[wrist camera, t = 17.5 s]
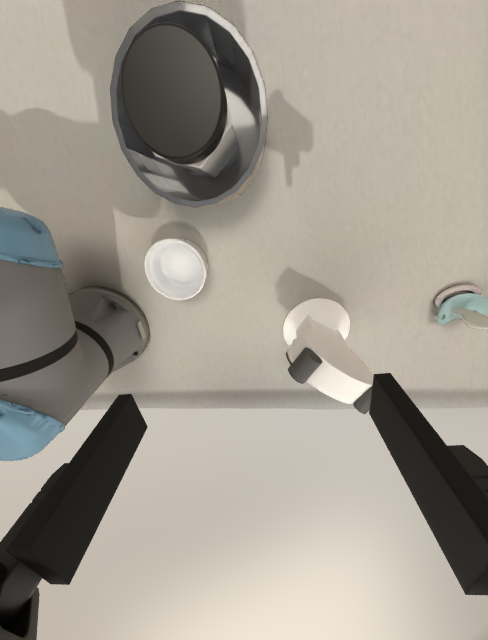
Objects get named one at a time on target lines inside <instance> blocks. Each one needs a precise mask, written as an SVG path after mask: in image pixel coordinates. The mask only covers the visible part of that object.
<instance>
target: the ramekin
mask: <svg viewBox="0 0 488 640" xmlns="http://www.w3.org/2000/svg"><path fill="white" fill-rule="evenodd" d="M144 269H145V273H146V276H147V279H148V281H149V282H150V284H151V285H152V287H153V288H154V289H155V290H156V291H157V292H158V293H160V294H161V295H163V296H164V297H167V298H169V299H173V300H186V299H190V298H192V297H194V296H195V295H196V294H198V293H199V292H200V290H201V289H202V287H203V286H204V283H205V280H206V276H207V271H208V263H207V259H206V256H205V255H204V253H203V251H202V250H201V249H200V248H199V247H198V246H197V245H196V244H194V243H193V242H191V241H188V240H186V239H174V238H168V239H163V240H160V241H158V242H156V243H155V244H153V245H152V246H151V247H150V248H149V250H148V251H147V253H146V256H145V261H144Z"/></svg>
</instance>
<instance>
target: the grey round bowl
mask: <svg viewBox="0 0 488 640" xmlns="http://www.w3.org/2000/svg"><path fill="white" fill-rule="evenodd" d="M163 22H169V23H175V24H179V25H181V26H184V27H186V28H187V29H189V30H191V31H192V32H193V33H195V34H196V35H197V36H198V37H199V38H200V39H201V40H202V41H203V42H204V43H205V45H206V46H207V47H208V49H209V50H210V52H211V54H212V55H213V57H214V58H215V59H216V62H217V66H218V69H219V72H220V75H221V78H222V82H223V85H224V89H225V93H226V96H227V100H228V103H229V107H230V111H231V115H232V119H233V123H234V127H235V131H236V135H237V139H238V143H239V148H238V150H237V151H236V152H235V154H234V155H233V156H232V158H231V159H230V160H229V162H228V163H227V164H226V166H225V167H224V168H223V170H222V171H221V172H220V174H219V175H218V176H217V177H216V178H214V177H210V176H206V175H203V174H199V173H195V172H192V171H188V170H184V169H182V168H180V167H177V166H175V165H173V164H171V163H169V162H167V161H165V160H162V159H160V158H158V157H156V156H155V155H154V153H153V151H151V150H150V149H149V148H148V147H147V146H146V145H145V144H144V143H143V142H142V141H141V140H140V138H139V137H138V136H137V134H136V133H135V131H134V130H133V128H132V126H131V124H130V122H129V120H128V117H127V114H126V111H125V108H124V104H123V99H122V92H121V73H122V67H123V62H124V59H125V55H126V53H127V51H128V48H129V47H130V45H131V43H132V42H133V40H134V39H135V38H136V36H137V35H138V34H139V33H140V32H141V31H143V30H144V29H146V28H147V27H149V26H151V25H154V24H157V23H163ZM110 95H111V108H112V120H113V124H114V127H115V130H116V133H117V136H118V140H119V143H120V146H121V149H122V151H123V153H124V155H125V156H126V158H127V160H128V161H129V163H130V165H131V166H132V168H133V170H134V171H135V173H136V174H137V176H138V177H139V178H140V179H141V180H142V181H143V182H144V183H145V184H146V185H147V186H148V187H149V188H150V189H151V190H152V191H153V192H155V193H156V194H158V195H160V196H162V197H164V198H165V199H167V200H169V201H171V202H173V203H175V204H179V205H185V206H190V207H210V206H216V205H222V204H225V203H227V202H229V201H231V200H233V199H234V198H236V197H237V196H239V195H241V193H242V192H243V191H244V190H245V189H246V188H247V187H248V186H249V184H250V183H251V182H252V181H253V179H254V177H255V175H256V173H257V171H258V168H259V166H260V164H261V161H262V157H263V151H264V145H265V138H266V130H267V121H268V115H267V104H266V92H265V84H264V81H263V79H262V76H261V73H260V70H259V67H258V64H257V61H256V58H255V56H254V53H253V51H252V50H251V48H250V47H249V45H248V44H247V43H246V41H245V40H244V38H243V37H242V36H241V34H240V33H239V31H238V30H237V28H236V27H235V26H234V25H233V24H232V23H231V22H229V21H228V20H226V19H225V18H224V17H222V16H221V15H219V14H218V13H217V12H215V11H214V10H212V9H211V8H210V7H207V6H204V5H199V4H194V3H189V2H184V1H176V2H172V3H169V4H165V5H162V6H158V7H155V8H152V9H150V10H149V11H148V12H147V13H146V14H145V15H144V16H143V17H142V18H140V19H139V20H138V21H137V22H136V23H135V24H134V25H133V26H132V27H131V28H130V29H129V31H128V33H127V35H126V37H125V39H124V41H123V43H122V44H121V46H120V48H119V50H118V52H117V54H116V57H115V63H114V68H113V74H112V80H111V86H110Z"/></svg>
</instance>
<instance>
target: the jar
mask: <svg viewBox="0 0 488 640" xmlns="http://www.w3.org/2000/svg"><path fill="white" fill-rule="evenodd" d="M121 92H122V99H123V104H124V108H125V111H126V114H127V117H128V120H129V122H130V124H131V126H132V128H133V130H134V131H135V133H136V134H137V136H138V137H139V138H140V140H141V141H142V142H143V143H144V144H145V145H146V146H147V147H148V148H149V149H150V150H151V151H153V153H154V155H155V156H156V157H158V158H160V159H162V160H165V161H167V162H169V163H171V164H173V165H175V166H177V167H180V168H182V169H184V170H188V171H192V172H195V173H199V174H203V175H206V176H210V177H214V178H216V177H217V176H218V175H219V174H220V172H221V171H222V170H223V168H224V167H225V166H226V164H227V163H228V162H229V160H230V159H231V158H232V156H233V155H234V154H235V152H236V151H237V150H238V148H239V143H238V139H237V135H236V131H235V127H234V123H233V119H232V115H231V111H230V107H229V103H228V100H227V96H226V93H225V89H224V85H223V82H222V78H221V75H220V72H219V69H218V66H217V62H216V59H215V58H214V57H213V55H212V54H211V52H210V50H209V49H208V47H207V46H206V45H205V43H204V42H203V41H202V40H201V39H200V38H199V37H198V36H197V35H196V34H195V33H193V32H192V31H191V30H189V29H187V28H186V27H184V26H181V25H179V24H175V23H169V22H163V23H157V24H154V25H151V26H149V27H147V28H146V29H144V30H143V31H141V32H140V33H139V34H138V35H137V36H136V38H135V39H134V40H133V42H132V43H131V45H130V47H129V48H128V51H127V53H126V55H125V59H124V62H123V67H122V73H121Z"/></svg>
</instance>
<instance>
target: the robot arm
mask: <svg viewBox="0 0 488 640" xmlns="http://www.w3.org/2000/svg"><path fill="white" fill-rule="evenodd" d="M61 267H63V263H62V261H61V260H60V259H59V257H58V254H57V251H56V247H55V244H54V241H53V238H52V234H51V232H50V230H49V229H48V227H47V226H46V225H45V224H44V223H43V222H42V221H41V220H39V219H38V218H36V217H34V216H32V215H30V214H27V213H24V212H20V211H16V210H12V209H7V208H3V207H0V460H1V461H15V460H22V459H26V458H28V457H31V456H33V455H35V454H37V453H39V452H40V451H41V450H43V449H44V448H45V447H46V445H48V444H49V442H50V441H51V440H53V439H54V438H55V437H56V435H58V434H59V433H60V432H62V431H63V430H64V429H65V426H66V425H67V424H68V422H69V421H70V420H71V419H72V418H73V416H74V415H75V414H76V413H77V412H78V411H79V409H80V408H81V407H82V406H83V405H84V404H85V402H86V401H87V400H88V399H89V398H90V397H91V395H92V394H93V393H94V392H95V391H96V390H97V388H98V387H99V386H100V385H101V384H102V383H103V381H104V380H105V379H106V378H107V377H108V376H109V374H110V373H112V372H114V371H116V370H117V369H119V368H121V367H123V366H125V365H127V364H129V363H130V362H132V361H134V360H135V359H137V358H138V357H139V356H140V354H141V353H142V352H143V351H144V349H145V348H146V346H147V344H148V341H149V327H148V323H147V321H146V318H145V316H144V315H143V313H142V312H141V310H140V309H139V308H138V307H137V306H136V304H135V303H133V302H132V301H131V300H130V299H129V298H127V297H126V296H124V295H123V294H121V293H119V292H117V291H114V290H112V289H108V288H104V287H87V288H83V289H81V290H79V291H77V292H75V293H72V294H71V295H69V296H68V293H67V289H66V285H65V281H64V277H63V273H62V269H61ZM369 414H370V415H371V418H372V419H373V421H374V423H375V425H376V427H377V429H378V431H379V433H380V434H381V436H382V438H383V440H384V442H385V444H386V446H387V448H388V450H389V451H390V453H391V455H392V457H393V459H394V461H395V463H396V465H397V466H398V468H399V470H400V472H401V474H402V476H403V477H404V479H405V482H406V483H407V485H408V487H409V489H410V491H411V492H412V495H413V497H414V498H415V500H416V502H417V504H418V506H419V508H420V510H421V512H422V514H423V515H424V517H425V519H426V521H427V523H428V525H429V526H430V529H431V530H432V532H433V534H434V536H435V538H436V540H437V542H438V543H439V545H440V547H441V549H442V551H443V553H444V555H445V557H446V559H447V560H448V562H449V564H450V566H451V568H452V570H453V572H454V574H455V576H456V577H457V579H458V581H459V583H460V585H461V587H462V589H463V591H464V592H465V594H466V595H488V466H487V465H486V463H485V462H484V461H483V460H482V459H481V458H480V457H479V456H477V455H476V454H474V453H473V452H472V451H470V450H469V449H468V448H466V447H465V446H464V445H456V446H447V445H446V444H445V443H444V442H443V440H442V439H441V438H440V436H439V435H438V434H437V433H436V431H435V430H434V429H433V427H432V426H431V425H430V424H429V422H428V421H427V420H426V418H425V417H424V416H423V415H422V413H421V412H420V411H419V409H418V408H417V407H416V406H415V404H414V403H413V402H412V401H411V399H410V398H409V397H408V395H407V394H406V393H405V392H404V390H403V389H402V388H401V386H400V385H399V384H398V383H397V381H396V380H395V379H394V378H393V376H392V375H391V374H390V373H385V374H374V377H373V386H372V394H371V402H370V411H369ZM146 429H147V425H146V423H145V421H144V419H143V417H142V415H141V413H140V411H139V409H138V407H137V405H136V402H135V400H134V398H133V396H132V394H125V395H118V397H117V398H116V400H115V401H114V402H113V404H112V405H111V406H110V408H109V409H108V411H107V412H106V413H105V415H104V416H103V417H102V419H101V420H100V421H99V423H98V424H97V426H96V427H95V428H94V430H93V431H92V433H91V434H90V435H89V437H88V438H87V439H86V441H85V442H84V443H83V445H82V446H81V448H80V449H79V450H78V452H77V453H76V454H75V456H74V457H73V459H72V460H71V461H70V463H65V464H63V465H62V466H61V467H60V468H59V469H58V470H57V471H56V472H55V473H53V474H52V475H51V477H50V478H49V479H48V480H47V482H46V483H45V484H44V486H43V487H42V488H41V491H40V492H38V494H37V495H36V496H35V498H34V499H33V501H32V503H30V504H29V505H28V507H27V508H26V509H25V511H24V512H23V513H22V515H21V516H20V517H19V518H18V520H17V521H16V523H15V524H14V525H13V526H12V528H11V529H10V530H9V532H8V533H7V534H6V536H5V537H4V538H3V540H2V541H1V542H0V640H36V637H37V621H38V606H39V589H38V588H37V586H38V584H39V582H40V580H41V579H42V578H43V579H44V580H46V581H47V582H49V583H50V584H67V585H69V584H70V582H71V580H72V578H73V576H74V574H75V572H76V570H77V568H78V566H79V564H80V562H81V560H82V558H83V556H84V554H85V552H86V550H87V548H88V546H89V544H90V542H91V540H92V538H93V536H94V534H95V532H96V530H97V528H98V526H99V524H100V522H101V520H102V518H103V516H104V514H105V512H106V510H107V508H108V506H109V504H110V502H111V500H112V498H113V496H114V493H115V492H116V490H117V488H118V486H119V484H120V482H121V480H122V478H123V475H124V473H125V471H126V469H127V467H128V465H129V463H130V461H131V459H132V457H133V455H134V453H135V451H136V449H137V447H138V445H139V443H140V441H141V439H142V437H143V435H144V433H145V431H146Z"/></svg>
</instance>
